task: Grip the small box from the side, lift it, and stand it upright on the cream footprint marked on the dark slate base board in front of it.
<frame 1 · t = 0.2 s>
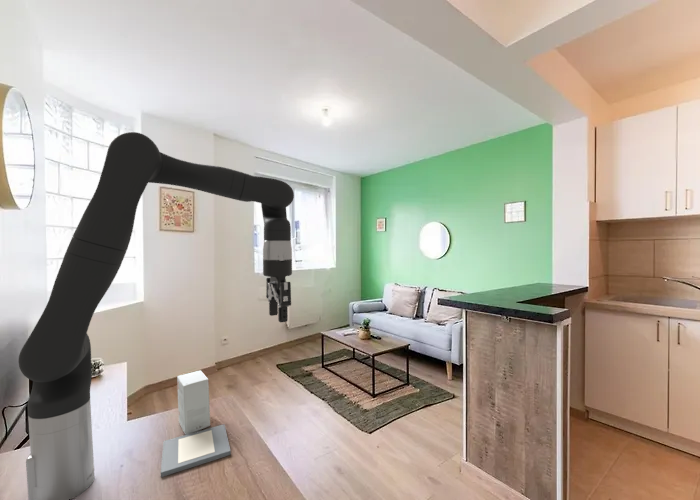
hand: (278, 318, 84), 29 cm above the table, tool pointing down, fingers open, 8 cm apart
small box: (194, 424, 86), on the table
base board: (196, 449, 76), on the table
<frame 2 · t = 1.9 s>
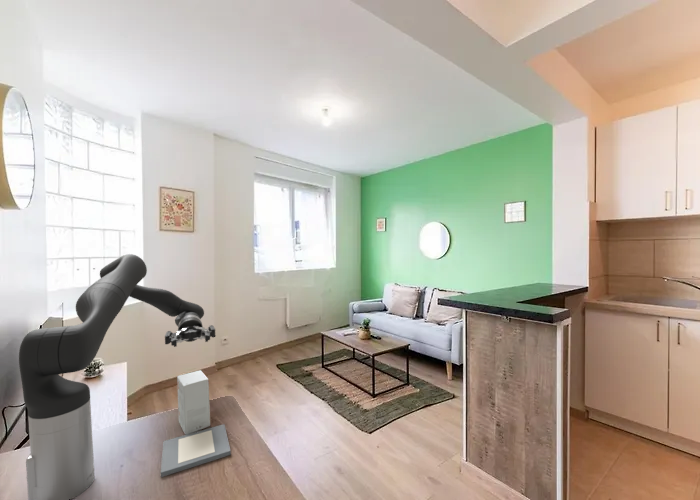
hand: (191, 341, 95), 20 cm above the table, tool horizontal, fingers open, 8 cm apart
nothing on the table moved.
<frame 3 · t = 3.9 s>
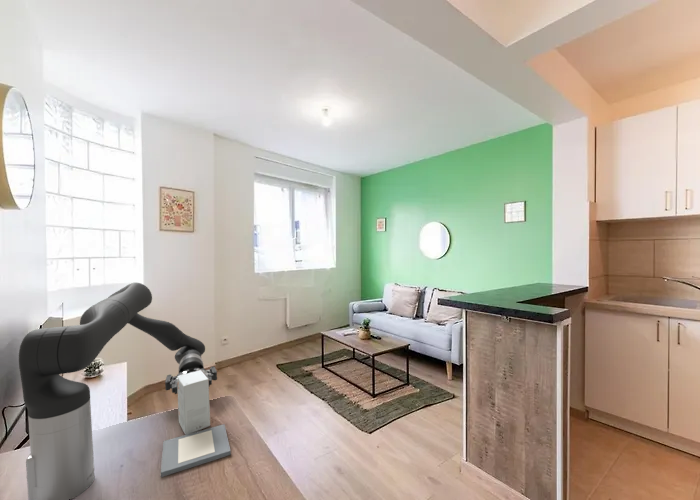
hand: (192, 387, 93), 7 cm above the table, tool horizontal, fingers open, 8 cm apart
nothing on the table moved.
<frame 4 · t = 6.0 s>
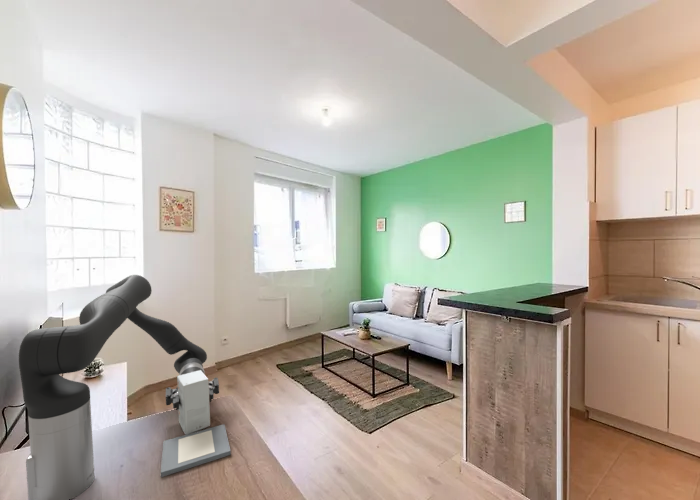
hand: (194, 402, 84), 7 cm above the table, tool horizontal, fingers closed on small box, 7 cm apart
small box: (194, 424, 86), on the table, touching gripper
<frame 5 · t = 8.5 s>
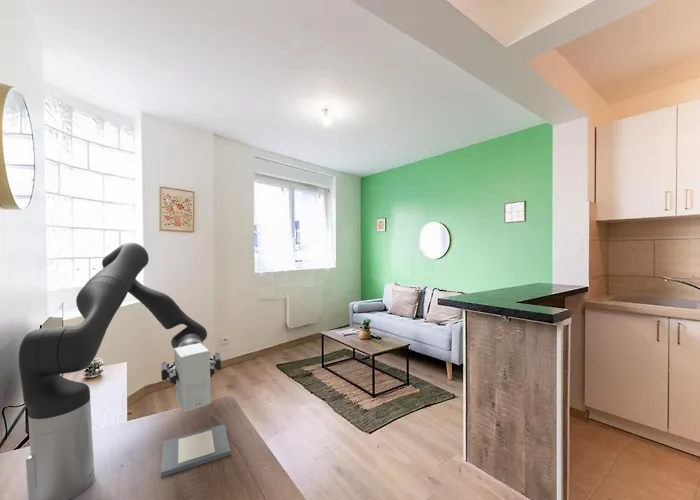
hand: (193, 376, 75), 18 cm above the table, tool horizontal, fingers closed on small box, 7 cm apart
small box: (193, 402, 77), point 11 cm above the table, touching gripper
when the fingers open (9 cm above the table, at t = 11.0 s): small box drops 1 cm, resting on base board.
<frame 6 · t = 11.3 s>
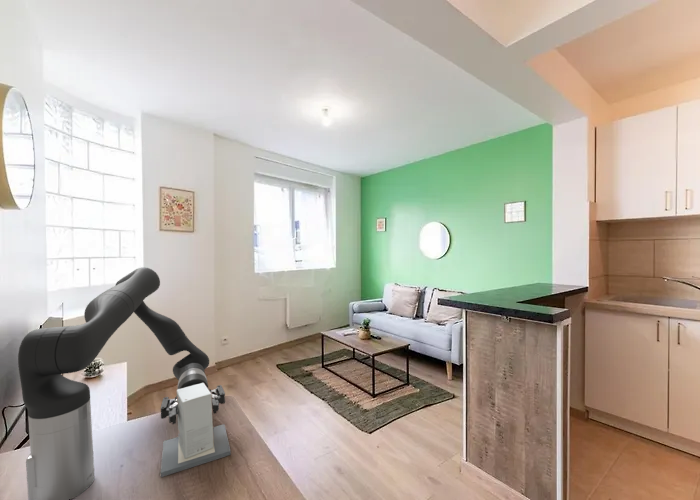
hand: (195, 414, 73), 10 cm above the table, tool horizontal, fingers open, 8 cm apart
small box: (196, 445, 76), point 1 cm above the table, touching base board
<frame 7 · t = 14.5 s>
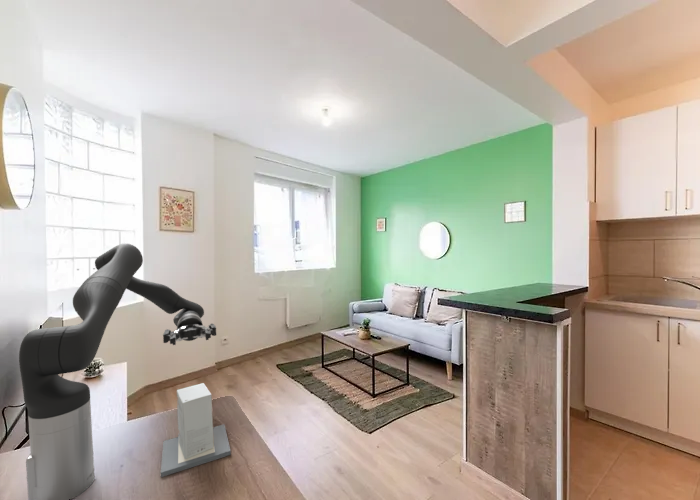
hand: (191, 339, 90), 22 cm above the table, tool horizontal, fingers open, 8 cm apart
nothing on the table moved.
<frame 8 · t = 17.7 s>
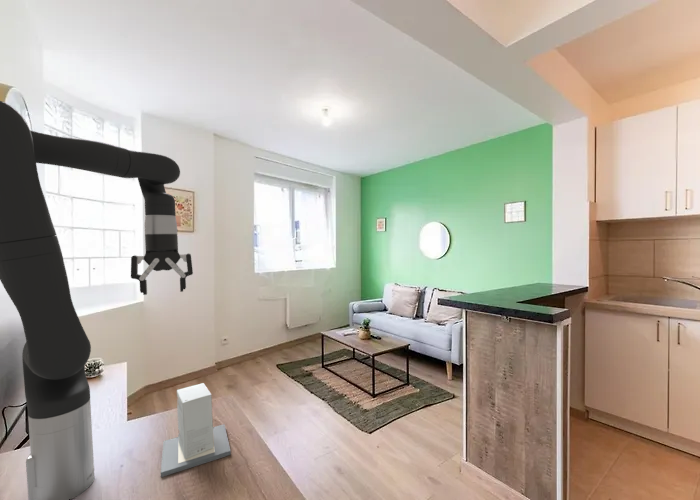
hand: (164, 292, 85), 36 cm above the table, tool pointing down, fingers open, 8 cm apart
nothing on the table moved.
at the end: small box 0.1 cm off-centre on the base board, point 0.9 cm above the base board's base; small box tilted 0°; the gripper is holding nothing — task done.
